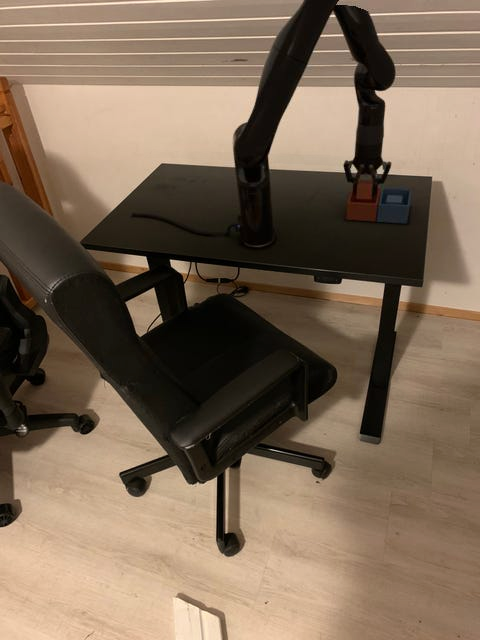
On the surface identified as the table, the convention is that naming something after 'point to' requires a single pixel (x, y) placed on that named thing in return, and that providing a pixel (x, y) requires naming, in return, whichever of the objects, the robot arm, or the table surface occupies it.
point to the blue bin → (394, 206)
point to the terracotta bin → (363, 207)
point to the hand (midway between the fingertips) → (364, 194)
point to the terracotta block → (364, 189)
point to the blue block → (394, 200)
